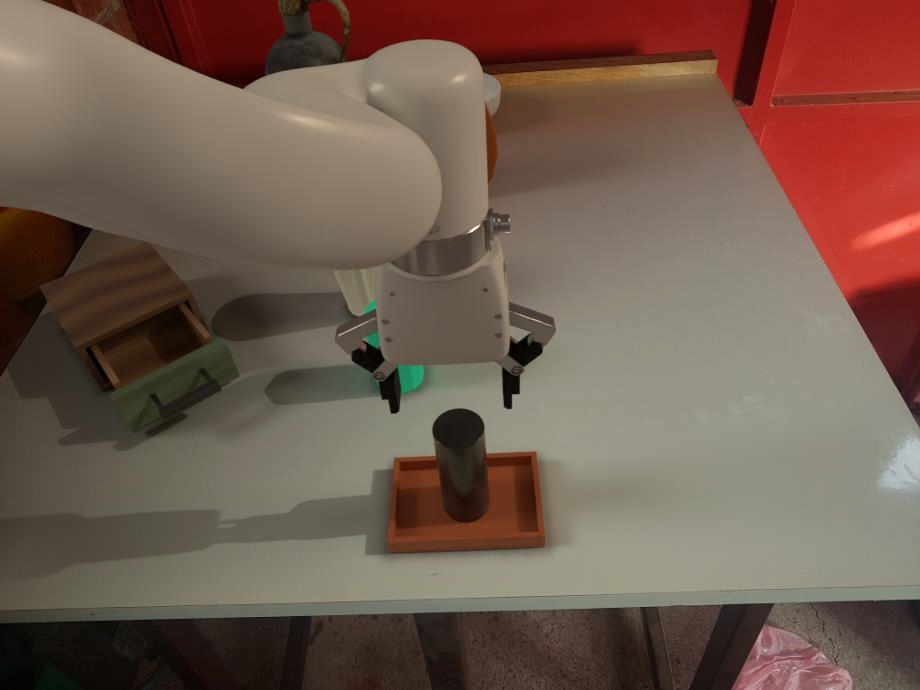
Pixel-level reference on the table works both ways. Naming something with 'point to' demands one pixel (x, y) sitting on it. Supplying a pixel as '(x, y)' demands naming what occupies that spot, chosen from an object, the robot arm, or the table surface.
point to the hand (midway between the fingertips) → (451, 399)
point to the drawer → (164, 366)
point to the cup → (357, 288)
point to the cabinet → (115, 299)
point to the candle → (407, 374)
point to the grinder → (462, 464)
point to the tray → (503, 525)
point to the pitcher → (305, 39)
